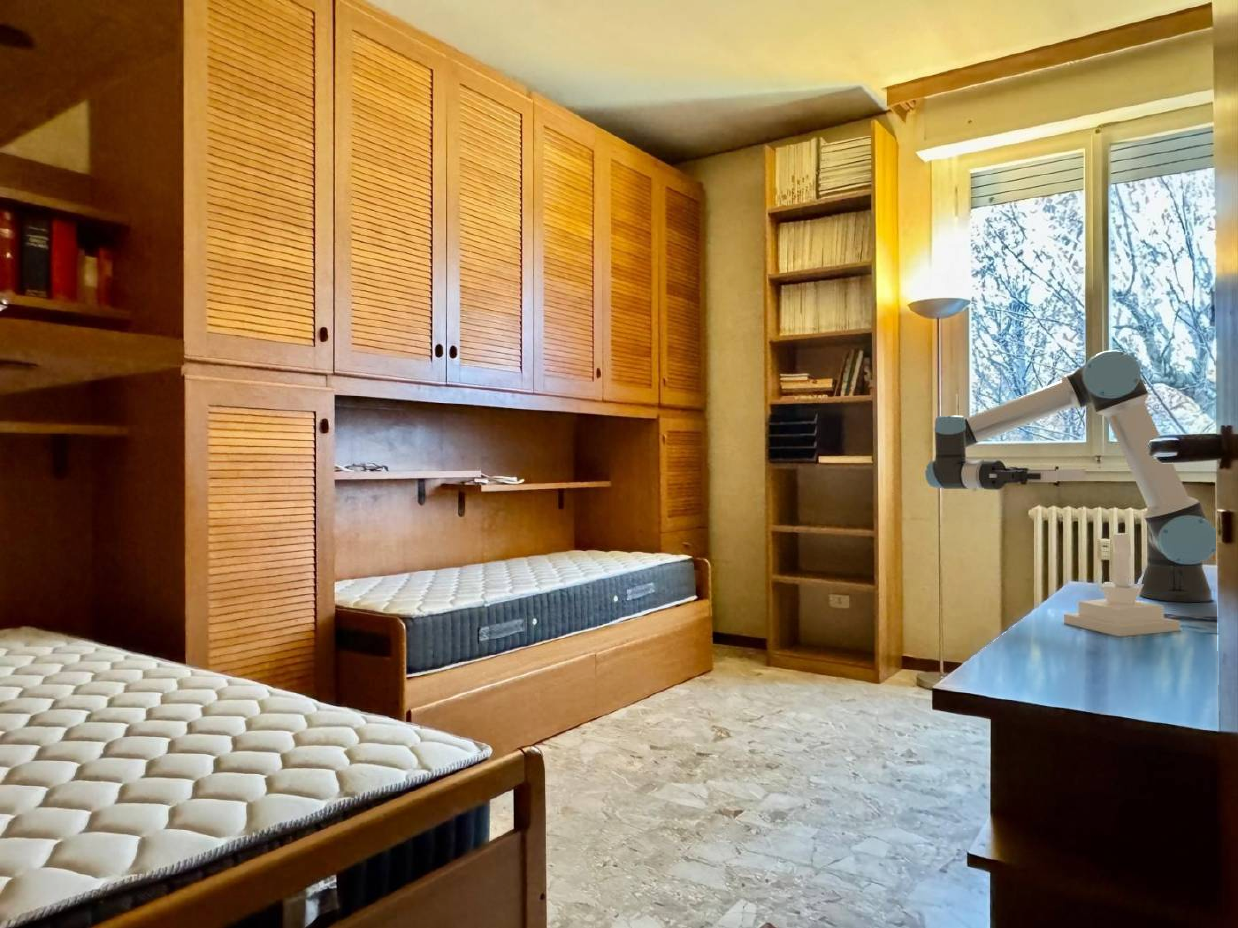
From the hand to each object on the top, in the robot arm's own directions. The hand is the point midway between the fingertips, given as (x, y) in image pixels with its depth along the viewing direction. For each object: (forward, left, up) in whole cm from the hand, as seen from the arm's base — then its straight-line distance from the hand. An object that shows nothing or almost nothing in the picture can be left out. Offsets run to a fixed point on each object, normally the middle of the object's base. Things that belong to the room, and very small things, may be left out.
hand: (1070, 475), depth 189 cm
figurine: (+3, +16, -27) cm, 32 cm away
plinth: (+4, +17, -32) cm, 36 cm away
